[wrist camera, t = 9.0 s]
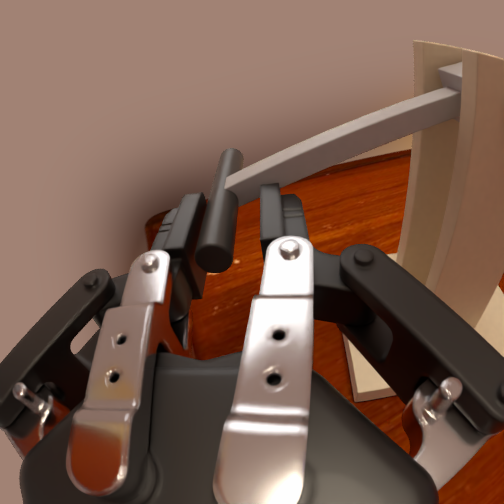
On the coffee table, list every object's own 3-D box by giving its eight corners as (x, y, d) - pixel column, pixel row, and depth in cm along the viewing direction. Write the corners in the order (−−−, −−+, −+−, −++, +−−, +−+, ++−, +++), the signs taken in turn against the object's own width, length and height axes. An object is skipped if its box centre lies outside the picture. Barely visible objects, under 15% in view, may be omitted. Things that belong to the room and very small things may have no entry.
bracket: (354, 402, 14) (410, 39, 4) (329, 273, 22) (320, 34, 12) (522, 357, 13) (628, 117, 3) (467, 256, 21) (503, 58, 11)
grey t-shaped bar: (218, 290, 10) (174, 239, 9) (233, 181, 17) (210, 145, 15) (565, 147, 6) (562, 85, 5) (461, 88, 12) (449, 48, 11)
